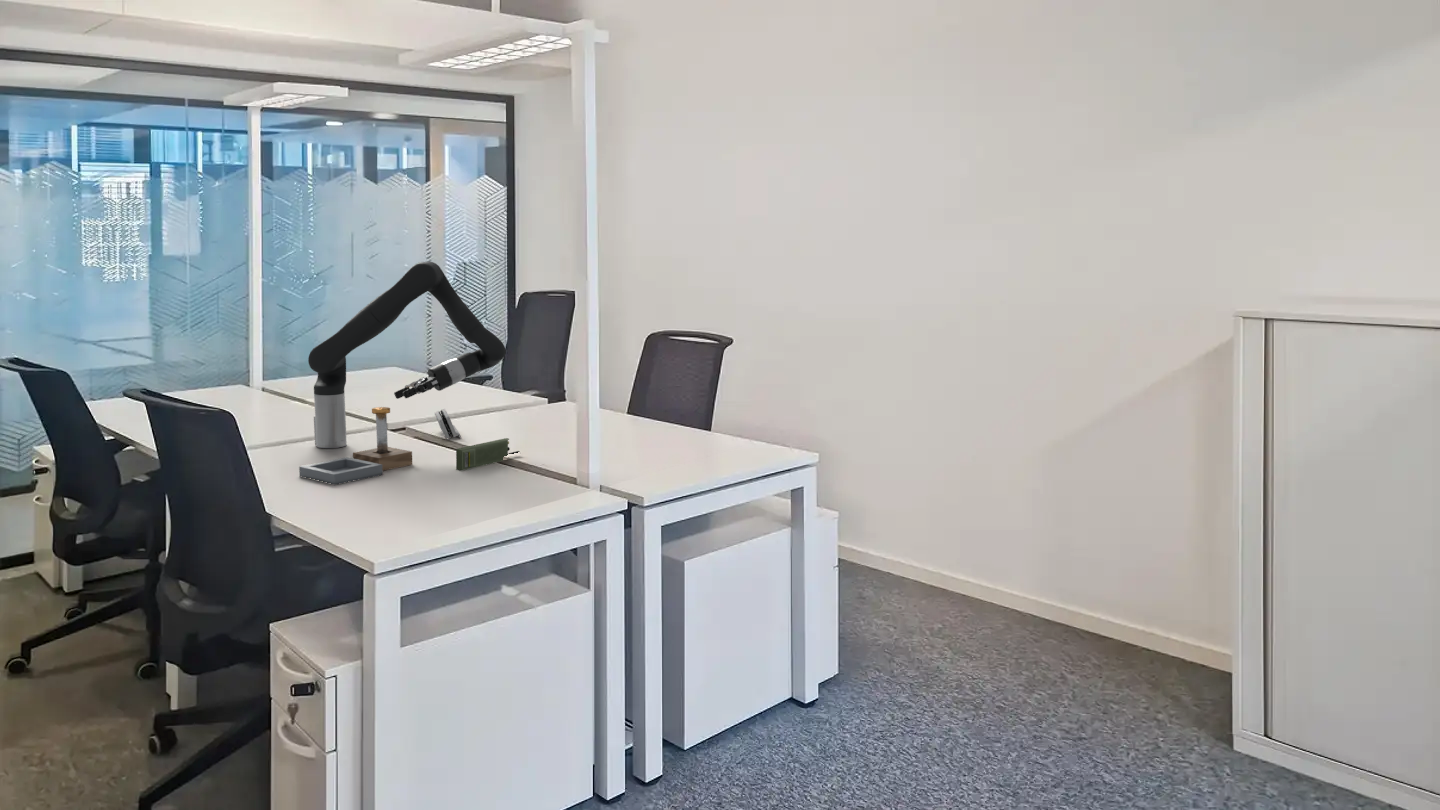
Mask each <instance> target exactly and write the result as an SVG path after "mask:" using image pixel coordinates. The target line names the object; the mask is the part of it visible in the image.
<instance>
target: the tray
mask: <svg viewBox="0 0 1440 810" xmlns="http://www.w3.org/2000/svg"><path fill="white" fill-rule="evenodd" d="M298 470H299V477H300V476H302V477H306V478H305V479H307V478H311V479H315V480H319V481H318V482H320V481H323V482H322V483H324V482H327V483H326V484H328V483H331V484H330V485H332V484H337V485H340V484H339V483H342V484H345V483H344V482H346V483H349V482H348V481H351V482H354V481H353V480H356V481H359V480H358V479H360V480H363V479H364V478H365V479H369V478H368V477H370V478H374V477H379V476H383V475H384V474H383V473H384V471H382V464H377V463H373V462H368V461H363V460H358V459H353V457H347V456H346V457H340V458H336V459H331V460H326V461H321V462H316V463H311V464H310V463H309V464H304V465H300V466H299V467H298ZM382 474H383V475H382ZM378 475H379V476H378ZM373 476H374V477H373ZM302 477H301V478H302ZM311 479H310V480H311ZM365 479H364V480H365ZM315 480H314V481H315Z"/></svg>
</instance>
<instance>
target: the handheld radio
mask: <svg viewBox="0 0 1440 810" xmlns="http://www.w3.org/2000/svg"><path fill="white" fill-rule="evenodd" d="M509 440H510V438H507V437H506V438H500V439H496V440H490V441H486V442H482V443H477V444H473V445H468V446H462V447H457V448H456V449H455V451H456V452H455V455H456V456H455V458H456V459H455V464H456V467H455V468H456V469H455V470H456V471H465V470H471V469H474V468H477V467H483V466H487V465H492V464H495V463H499V462H503V457H504V456H507V455H508V454H514V453H518V452H520V450H517V451H513V452H509V451H510V447H509V444H510V441H509ZM520 453H521V452H520ZM486 464H487V465H486Z"/></svg>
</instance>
